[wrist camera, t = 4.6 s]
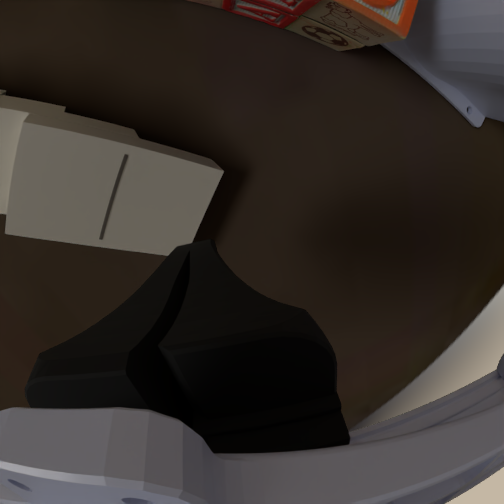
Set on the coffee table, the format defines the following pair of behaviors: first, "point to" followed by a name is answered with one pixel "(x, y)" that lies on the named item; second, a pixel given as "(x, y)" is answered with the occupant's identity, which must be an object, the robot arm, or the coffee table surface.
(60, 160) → the domino
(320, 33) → the stack of blocks
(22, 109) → the domino
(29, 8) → the coffee table surface
